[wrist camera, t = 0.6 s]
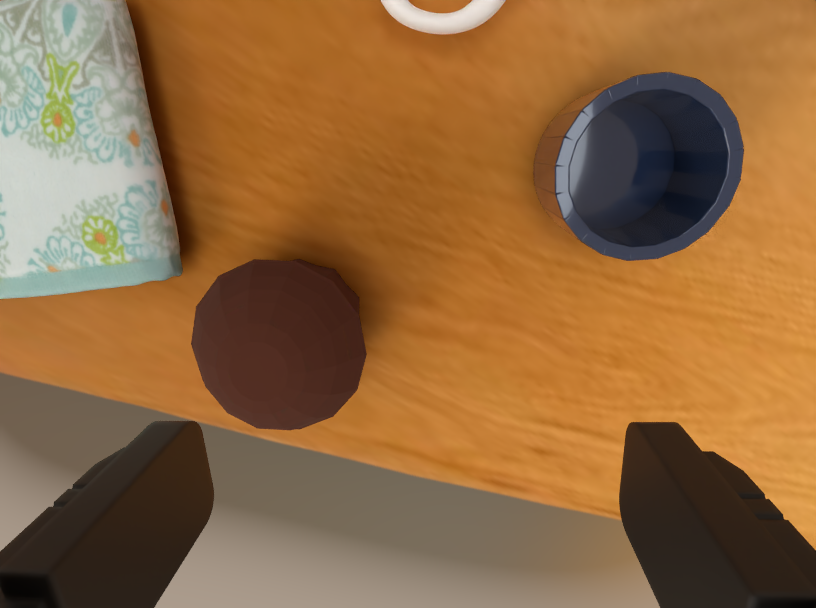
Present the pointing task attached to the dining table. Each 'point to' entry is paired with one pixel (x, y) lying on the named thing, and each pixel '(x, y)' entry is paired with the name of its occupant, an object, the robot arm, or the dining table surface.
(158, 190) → the towel
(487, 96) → the dining table surface
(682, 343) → the dining table surface
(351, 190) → the dining table surface
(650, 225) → the cup
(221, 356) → the muffin
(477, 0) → the mug
